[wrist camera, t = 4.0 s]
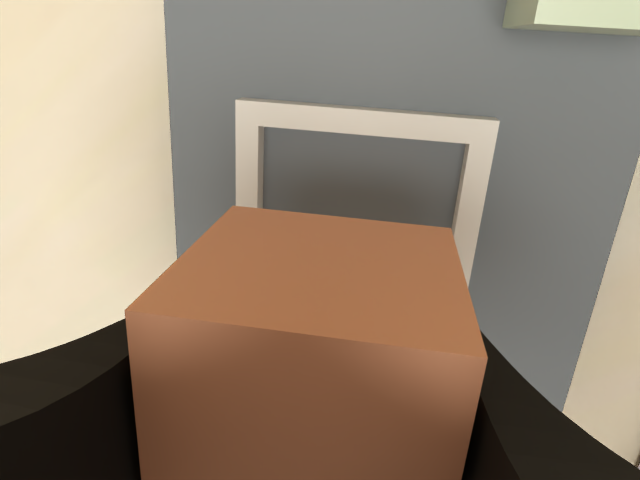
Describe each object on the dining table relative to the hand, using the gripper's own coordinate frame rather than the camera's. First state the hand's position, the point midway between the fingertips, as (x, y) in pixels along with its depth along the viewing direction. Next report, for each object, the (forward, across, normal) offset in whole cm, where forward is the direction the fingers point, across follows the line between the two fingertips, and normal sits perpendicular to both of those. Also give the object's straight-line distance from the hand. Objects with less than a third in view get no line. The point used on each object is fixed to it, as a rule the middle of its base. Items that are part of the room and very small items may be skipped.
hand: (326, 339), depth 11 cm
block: (+1, 0, 0) cm, 1 cm away
